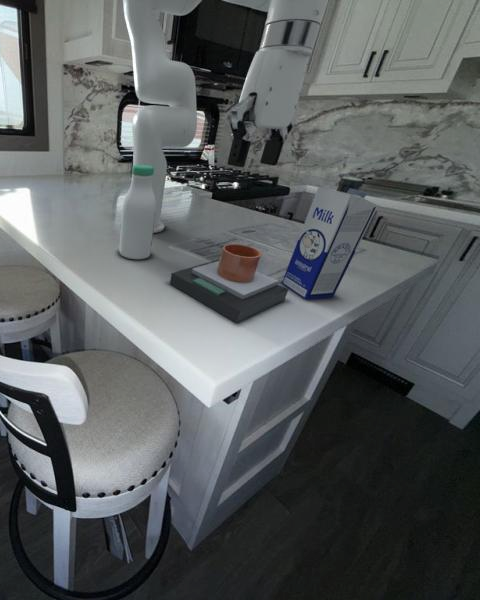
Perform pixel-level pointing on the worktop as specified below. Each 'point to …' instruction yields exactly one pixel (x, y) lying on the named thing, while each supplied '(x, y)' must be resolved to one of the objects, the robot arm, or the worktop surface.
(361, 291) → the worktop surface
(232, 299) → the kitchen scale
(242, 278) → the flower pot
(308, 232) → the milk carton
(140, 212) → the milk bottle
